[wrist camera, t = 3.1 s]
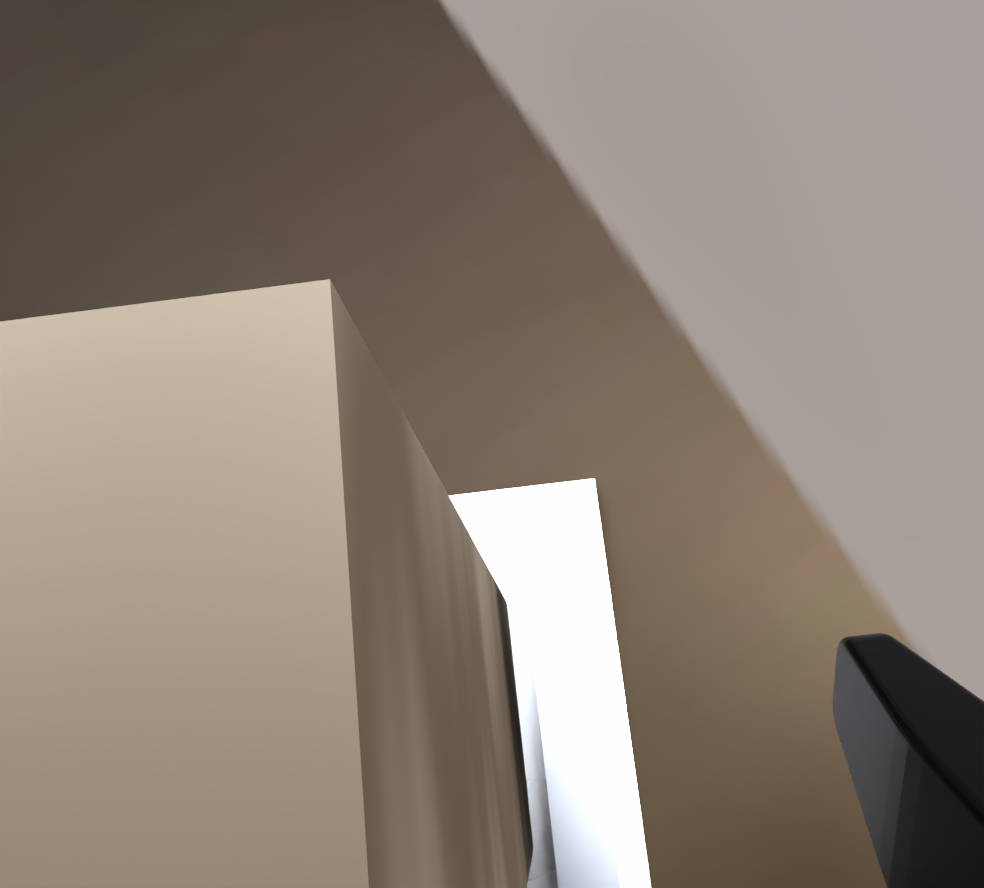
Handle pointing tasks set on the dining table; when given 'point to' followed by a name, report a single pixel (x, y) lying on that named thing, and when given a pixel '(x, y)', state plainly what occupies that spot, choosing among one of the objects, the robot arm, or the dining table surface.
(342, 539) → the beige rectangular block
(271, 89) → the dining table surface
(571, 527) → the rack
